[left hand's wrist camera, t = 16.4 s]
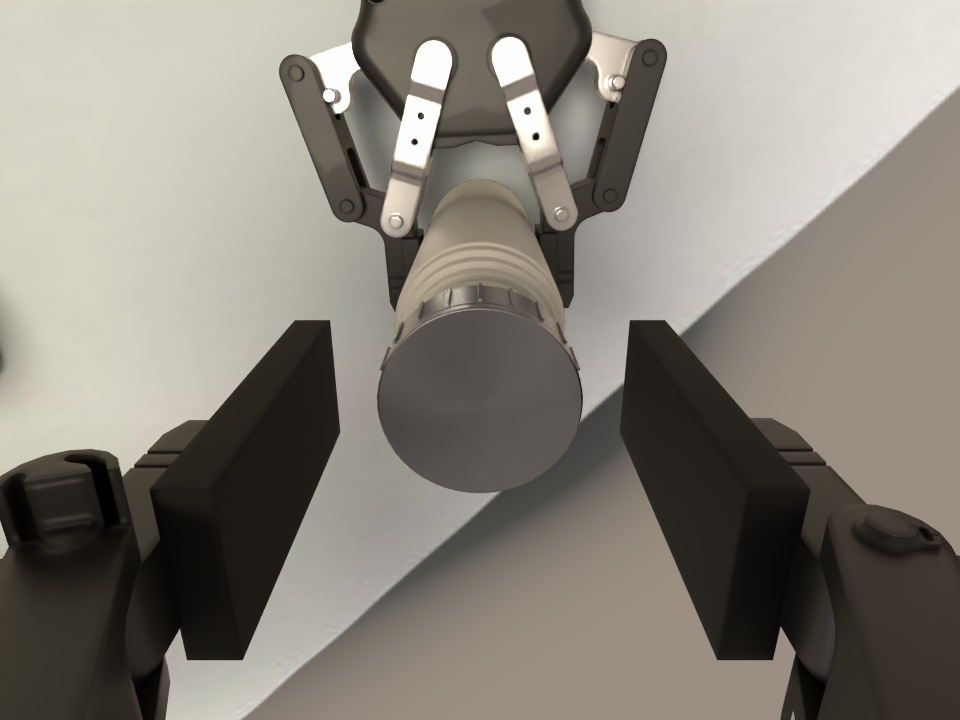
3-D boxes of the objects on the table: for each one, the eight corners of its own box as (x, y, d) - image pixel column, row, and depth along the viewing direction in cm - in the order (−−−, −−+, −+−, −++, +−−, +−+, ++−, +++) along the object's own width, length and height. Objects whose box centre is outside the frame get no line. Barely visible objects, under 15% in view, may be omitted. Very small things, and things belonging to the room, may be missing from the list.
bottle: (450, 165, 30) (405, 253, 12) (541, 198, 31) (628, 331, 13) (420, 256, 32) (342, 454, 14) (507, 286, 33) (542, 514, 14)
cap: (406, 466, 15) (398, 507, 14) (368, 299, 14) (353, 323, 12) (582, 442, 15) (594, 481, 14) (562, 269, 14) (573, 290, 12)
